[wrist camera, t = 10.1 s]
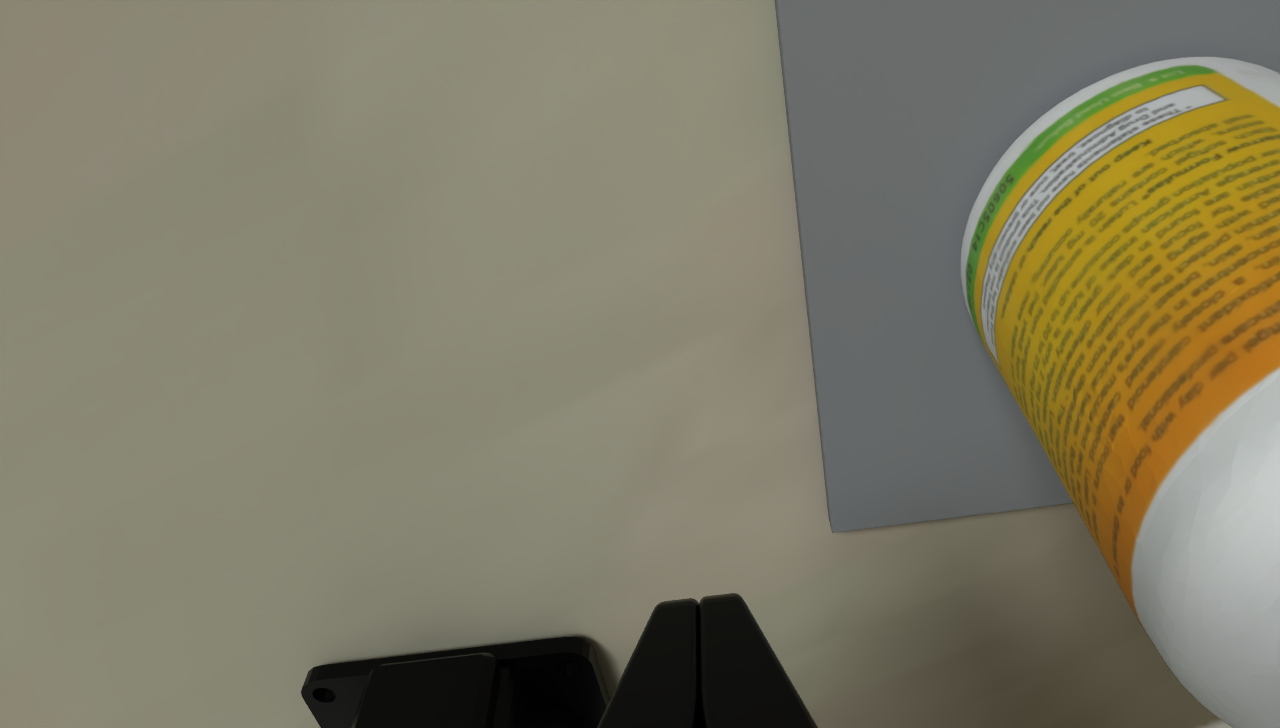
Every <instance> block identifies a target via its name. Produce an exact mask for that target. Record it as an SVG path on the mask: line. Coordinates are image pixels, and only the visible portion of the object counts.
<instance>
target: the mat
mask: <svg viewBox="0 0 1280 728" xmlns="http://www.w3.org/2000/svg"><path fill="white" fill-rule="evenodd" d="M775 7H776V17H777V27H778V36H779V46H780V55H781V65H782V75H783V84H784V94H785V103H786V113H787V122H788V132H789V142H790V151H791V161H792V170H793V180H794V189H795V199H796V209H797V218H798V228H799V237H800V247H801V256H802V266H803V276H804V285H805V295H806V304H807V314H808V324H809V333H810V343H811V352H812V362H813V371H814V381H815V391H816V400H817V410H818V419H819V429H820V438H821V448H822V458H823V467H824V477H825V486H826V496H827V505H828V515H829V521H830V526H831V530H832V533H835V532H843V531H851V530H859V529H867V528H875V527H883V526H891V525H899V524H907V523H915V522H923V521H931V520H939V519H947V518H955V517H963V516H971V515H979V514H987V513H995V512H1003V511H1011V510H1019V509H1027V508H1035V507H1043V506H1051V505H1059V504H1067V503H1073V501H1072V499H1071V497H1070V495H1069V494H1068V492H1067V490H1066V488H1065V487H1064V485H1063V483H1062V481H1061V479H1060V478H1059V476H1058V475H1057V473H1056V471H1055V469H1054V467H1053V465H1052V463H1051V461H1050V460H1049V458H1048V456H1047V454H1046V452H1045V451H1044V449H1043V447H1042V445H1041V444H1040V442H1039V440H1038V438H1037V436H1036V435H1035V433H1034V431H1033V429H1032V427H1031V425H1030V424H1029V422H1028V420H1027V419H1026V417H1025V415H1024V414H1023V412H1022V410H1021V409H1020V407H1019V405H1018V403H1017V402H1016V400H1015V398H1014V397H1013V395H1012V393H1011V391H1010V389H1009V387H1008V386H1007V384H1006V382H1005V381H1004V379H1003V377H1002V375H1001V374H1000V372H999V370H998V369H997V367H996V365H995V363H994V362H993V360H992V358H991V356H990V355H989V353H988V351H987V349H986V348H985V346H984V344H983V342H982V340H981V338H980V336H979V334H978V332H977V330H976V328H975V326H974V324H973V322H972V319H971V317H970V315H969V312H968V309H967V306H966V303H965V299H964V294H963V288H962V281H961V249H962V242H963V237H964V233H965V229H966V226H967V222H968V219H969V215H970V213H971V210H972V208H973V205H974V203H975V201H976V199H977V197H978V195H979V193H980V191H981V189H982V187H983V185H984V183H985V181H986V180H987V178H988V176H989V175H990V173H991V171H992V170H993V168H994V167H995V165H996V164H997V163H998V161H999V160H1000V159H1001V157H1002V156H1003V154H1004V153H1005V152H1006V151H1007V150H1008V148H1009V147H1010V146H1011V145H1012V144H1013V143H1014V141H1015V140H1016V139H1017V138H1018V137H1019V136H1020V135H1021V134H1022V133H1023V132H1024V131H1025V130H1026V129H1027V128H1029V127H1030V126H1031V125H1032V124H1033V123H1034V122H1035V121H1037V120H1038V119H1039V118H1040V117H1041V116H1042V115H1044V114H1045V113H1047V112H1048V111H1049V110H1051V109H1052V108H1053V107H1055V106H1056V105H1058V104H1059V103H1060V102H1062V101H1064V100H1065V99H1067V98H1068V97H1070V96H1072V95H1073V94H1075V93H1077V92H1078V91H1080V90H1082V89H1084V88H1086V87H1088V86H1090V85H1092V84H1094V83H1096V82H1098V81H1100V80H1102V79H1105V78H1107V77H1109V76H1111V75H1114V74H1117V73H1119V72H1122V71H1125V70H1128V69H1131V68H1134V67H1137V66H1141V65H1145V64H1149V63H1153V62H1157V61H1163V60H1169V59H1176V58H1185V57H1220V58H1229V59H1235V60H1240V61H1244V62H1248V63H1252V64H1256V65H1260V66H1263V67H1265V68H1268V69H1270V70H1273V71H1275V72H1278V73H1280V0H775Z"/></svg>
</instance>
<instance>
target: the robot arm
mask: <svg viewBox="0 0 1280 728" xmlns="http://www.w3.org/2000/svg"><path fill="white" fill-rule="evenodd" d="M301 694H302V697H303V699H304V701H305V702H306V704H307V706H308V707H309V709H310V711H311V712H312V714H313V715H314V717H315V719H316V720H317V722H318V724H319V725H320V727H321V728H818V727H817V726H816V724H815V722H814V720H813V719H812V717H811V715H810V713H809V712H808V710H807V708H806V707H805V705H804V703H803V701H802V700H801V698H800V696H799V694H798V693H797V691H796V689H795V688H794V686H793V684H792V682H791V681H790V679H789V677H788V676H787V674H786V672H785V670H784V669H783V667H782V665H781V663H780V662H779V660H778V658H777V657H776V655H775V653H774V651H773V650H772V648H771V646H770V644H769V643H768V641H767V639H766V638H765V636H764V634H763V632H762V631H761V629H760V627H759V625H758V624H757V622H756V620H755V619H754V617H753V615H752V613H751V612H750V610H749V608H748V606H747V605H746V603H745V601H744V600H743V598H742V597H741V596H740V595H739V594H736V593H731V594H723V595H714V596H706V597H703V598H702V599H701V601H700V603H698V601H697V600H695V599H692V598H689V599H681V600H673V601H664V602H661V603H659V604H658V605H657V606H656V607H655V609H654V610H653V612H652V614H651V616H650V619H649V621H648V623H647V625H646V627H645V629H644V631H643V633H642V635H641V637H640V639H639V641H638V643H637V646H636V648H635V650H634V652H633V654H632V656H631V658H630V660H629V662H628V664H627V666H626V668H625V670H624V673H623V675H622V677H621V679H620V681H619V683H618V685H617V687H616V689H615V691H614V693H613V695H612V697H611V700H610V698H609V695H608V692H607V689H606V686H605V683H604V680H603V677H602V674H601V671H600V668H599V665H598V662H597V659H596V656H595V652H594V650H593V648H592V647H591V645H590V644H589V643H587V642H586V641H584V640H583V639H579V638H576V637H562V638H553V639H545V640H536V641H527V642H519V643H510V644H501V645H493V646H484V647H475V648H467V649H458V650H450V651H441V652H432V653H424V654H415V655H406V656H398V657H389V658H381V659H372V660H363V661H355V662H346V663H337V664H329V665H321V666H317V667H314V668H312V669H311V670H310V671H309V672H308V674H307V677H306V679H305V682H304V685H303V687H302V690H301Z"/></svg>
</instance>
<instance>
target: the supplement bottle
mask: <svg viewBox="0 0 1280 728" xmlns="http://www.w3.org/2000/svg"><path fill="white" fill-rule="evenodd" d="M961 281H962V288H963V294H964V299H965V303H966V306H967V309H968V312H969V315H970V317H971V319H972V322H973V324H974V326H975V328H976V330H977V332H978V334H979V336H980V338H981V340H982V342H983V344H984V346H985V348H986V349H987V351H988V353H989V355H990V356H991V358H992V360H993V362H994V363H995V365H996V367H997V369H998V370H999V372H1000V374H1001V375H1002V377H1003V379H1004V381H1005V382H1006V384H1007V386H1008V387H1009V389H1010V391H1011V393H1012V395H1013V397H1014V398H1015V400H1016V402H1017V403H1018V405H1019V407H1020V409H1021V410H1022V412H1023V414H1024V415H1025V417H1026V419H1027V420H1028V422H1029V424H1030V425H1031V427H1032V429H1033V431H1034V433H1035V435H1036V436H1037V438H1038V440H1039V442H1040V444H1041V445H1042V447H1043V449H1044V451H1045V452H1046V454H1047V456H1048V458H1049V460H1050V461H1051V463H1052V465H1053V467H1054V469H1055V471H1056V473H1057V475H1058V476H1059V478H1060V479H1061V481H1062V483H1063V485H1064V487H1065V488H1066V490H1067V492H1068V494H1069V495H1070V497H1071V499H1072V501H1073V503H1074V504H1075V506H1076V508H1077V510H1078V511H1079V513H1080V515H1081V517H1082V519H1083V520H1084V522H1085V524H1086V526H1087V528H1088V529H1089V531H1090V533H1091V535H1092V537H1093V539H1094V540H1095V542H1096V544H1097V546H1098V547H1099V549H1100V551H1101V553H1102V555H1103V556H1104V558H1105V560H1106V562H1107V564H1108V566H1109V567H1110V569H1111V571H1112V573H1113V575H1114V577H1115V578H1116V580H1117V582H1118V584H1119V586H1120V588H1121V589H1122V591H1123V593H1124V595H1125V597H1126V599H1127V600H1128V602H1129V604H1130V606H1131V608H1132V609H1133V611H1134V613H1135V615H1136V616H1137V618H1138V620H1139V622H1140V624H1141V625H1142V627H1143V629H1144V630H1145V632H1146V633H1147V635H1148V636H1149V638H1150V639H1151V640H1152V642H1153V643H1154V645H1155V647H1156V648H1157V650H1158V652H1159V653H1160V655H1161V656H1162V658H1163V659H1164V661H1165V662H1166V664H1167V665H1168V667H1169V668H1170V670H1171V671H1172V672H1173V673H1174V675H1175V676H1176V677H1177V679H1178V680H1179V681H1180V683H1181V684H1182V685H1183V686H1184V687H1185V688H1186V689H1187V690H1188V691H1189V692H1190V693H1191V694H1192V695H1193V696H1194V697H1195V698H1196V699H1197V700H1198V701H1199V702H1200V703H1201V704H1202V705H1203V706H1204V707H1205V708H1206V709H1208V710H1209V711H1210V712H1212V713H1213V714H1214V715H1216V716H1217V717H1218V718H1220V719H1221V720H1223V721H1224V722H1225V723H1227V724H1228V725H1230V726H1231V727H1233V728H1280V73H1278V72H1275V71H1273V70H1270V69H1268V68H1265V67H1263V66H1260V65H1256V64H1252V63H1248V62H1244V61H1240V60H1235V59H1229V58H1220V57H1185V58H1176V59H1169V60H1163V61H1157V62H1153V63H1149V64H1145V65H1141V66H1137V67H1134V68H1131V69H1128V70H1125V71H1122V72H1119V73H1117V74H1114V75H1111V76H1109V77H1107V78H1105V79H1102V80H1100V81H1098V82H1096V83H1094V84H1092V85H1090V86H1088V87H1086V88H1084V89H1082V90H1080V91H1078V92H1077V93H1075V94H1073V95H1072V96H1070V97H1068V98H1067V99H1065V100H1064V101H1062V102H1060V103H1059V104H1058V105H1056V106H1055V107H1053V108H1052V109H1051V110H1049V111H1048V112H1047V113H1045V114H1044V115H1042V116H1041V117H1040V118H1039V119H1038V120H1037V121H1035V122H1034V123H1033V124H1032V125H1031V126H1030V127H1029V128H1027V129H1026V130H1025V131H1024V132H1023V133H1022V134H1021V135H1020V136H1019V137H1018V138H1017V139H1016V140H1015V141H1014V143H1013V144H1012V145H1011V146H1010V147H1009V148H1008V150H1007V151H1006V152H1005V153H1004V154H1003V156H1002V157H1001V159H1000V160H999V161H998V163H997V164H996V165H995V167H994V168H993V170H992V171H991V173H990V175H989V176H988V178H987V180H986V181H985V183H984V185H983V187H982V189H981V191H980V193H979V195H978V197H977V199H976V201H975V203H974V205H973V208H972V210H971V213H970V215H969V219H968V222H967V226H966V229H965V233H964V237H963V242H962V249H961Z"/></svg>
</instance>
